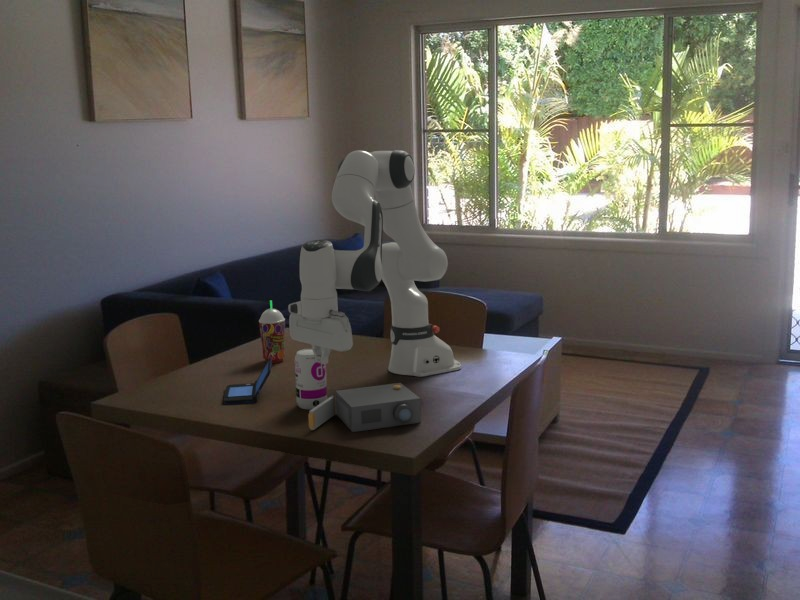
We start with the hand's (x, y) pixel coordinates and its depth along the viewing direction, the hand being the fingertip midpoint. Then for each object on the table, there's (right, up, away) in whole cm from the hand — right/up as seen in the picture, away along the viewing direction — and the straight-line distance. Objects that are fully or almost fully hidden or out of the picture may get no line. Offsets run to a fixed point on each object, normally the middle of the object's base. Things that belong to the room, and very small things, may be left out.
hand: (321, 362), depth 220 cm
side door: (0, -16, +8) cm, 18 cm away
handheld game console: (-24, -12, +34) cm, 43 cm away
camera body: (+14, -15, +9) cm, 23 cm away
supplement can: (-5, -13, +23) cm, 27 cm away
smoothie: (-22, -5, +70) cm, 73 cm away
